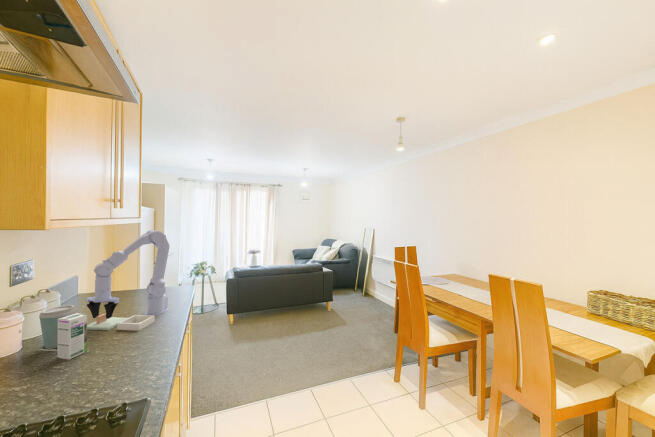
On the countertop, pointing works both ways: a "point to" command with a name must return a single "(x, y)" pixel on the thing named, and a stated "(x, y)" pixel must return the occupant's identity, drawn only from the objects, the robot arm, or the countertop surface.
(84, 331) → the syrup box
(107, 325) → the lid
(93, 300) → the robot arm
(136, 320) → the tub
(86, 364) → the countertop surface
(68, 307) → the disposable coffee cup
